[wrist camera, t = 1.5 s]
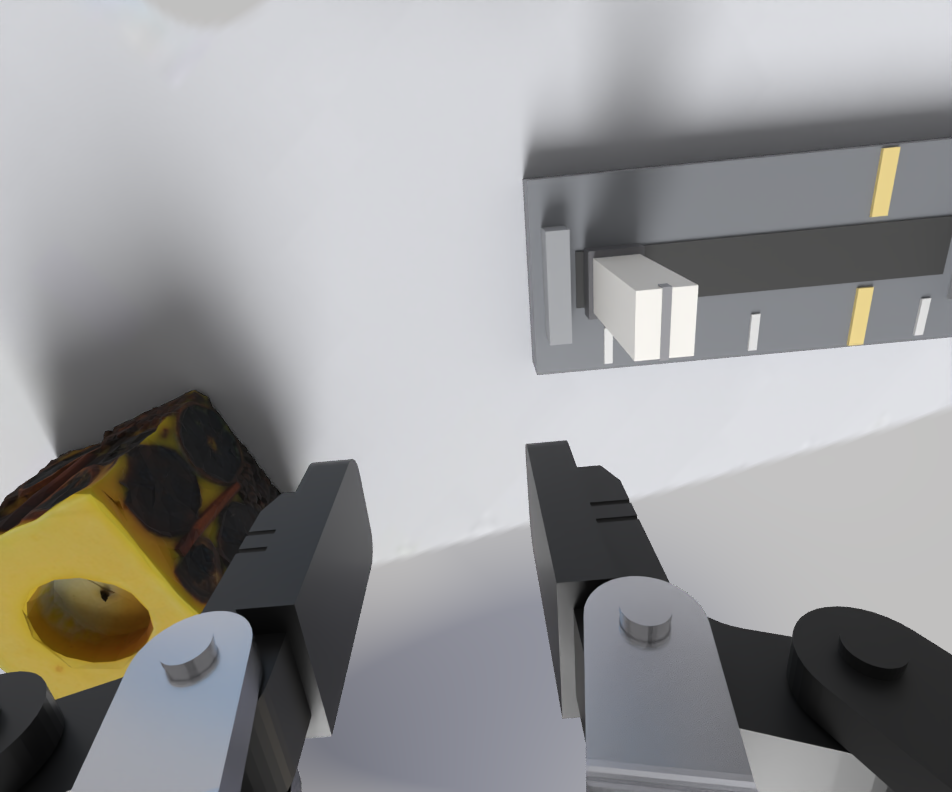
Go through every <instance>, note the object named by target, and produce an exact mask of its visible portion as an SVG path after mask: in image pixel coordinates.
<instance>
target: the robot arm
mask: <svg viewBox="0 0 952 792" xmlns="http://www.w3.org/2000/svg"><path fill="white" fill-rule="evenodd" d="M526 467H527V483H528V499H529V514H530V527H531V536H532V544H533V552H534V558H535V563H536V569H537V575H538V581H539V586H540V592H541V598H542V604H543V609H544V615H545V621H546V627H547V632H548V638H549V644H550V650H551V655H552V661H553V666H554V672H555V678H556V684H557V690H558V695H559V701H560V707H561V713H562V718H563V719H564V718H577V717H580V718H581V722H582V727H583V731H584V737H585V742H586V791H587V792H952V655H951V654H950V653H948V652H946V651H945V650H943V649H942V648H940V647H938V646H937V645H935V644H934V643H932V642H931V641H929V640H927V639H926V638H924V637H922V636H921V635H919V634H918V633H916V632H915V631H913V630H911V629H910V628H908V627H906V626H904V625H902V624H901V623H899V622H896V621H894V620H892V619H890V618H888V617H885V616H882V615H879V614H877V613H873V612H870V611H866V610H862V609H856V608H851V607H824V608H819V609H816V610H813V611H810V612H808V613H807V614H805V615H804V616H802V617H801V618H800V619H799V621H798V622H797V623H796V625H795V627H794V630H793V635H792V637H790V636H784V635H778V634H772V633H766V632H760V631H754V630H748V629H743V628H738V627H734V626H730V625H727V624H723V623H720V622H718V621H715V620H713V619H711V618H708V617H707V615H706V613H705V611H704V610H703V608H702V607H701V605H700V604H699V603H698V602H697V601H696V600H695V599H694V598H693V597H692V596H691V595H689V594H688V593H687V592H686V591H684V590H682V589H681V588H679V587H677V586H675V585H673V584H671V583H669V581H668V579H667V576H666V574H665V572H664V570H663V568H662V566H661V564H660V562H659V560H658V558H657V556H656V554H655V552H654V550H653V547H652V545H651V543H650V541H649V539H648V537H647V535H646V533H645V531H644V529H643V527H642V525H641V523H640V521H639V519H637V514H636V512H635V510H634V508H633V506H632V504H631V503H630V502H629V498H628V496H627V494H626V492H625V490H624V488H623V485H622V483H621V481H620V480H619V479H618V478H616V477H615V476H614V475H612V474H611V473H610V472H608V471H607V470H606V469H604V468H603V467H602V466H600V465H599V466H587V467H577V466H576V463H575V461H574V458H573V455H572V452H571V450H570V447H569V444H568V442H567V441H555V442H543V443H532V444H526ZM372 553H373V547H372V534H371V528H370V523H369V518H368V513H367V508H366V503H365V498H364V493H363V488H362V483H361V478H360V473H359V469H358V466H357V463H356V462H355V460H353V459H350V460H338V461H327V462H316V463H311V464H310V465H309V467H308V469H307V471H306V473H305V475H304V477H303V479H302V481H301V483H300V484H299V486H298V488H297V490H296V492H289V493H282V494H281V495H280V496H278V497H277V498H276V499H275V500H274V501H272V502H271V503H270V504H269V505H268V506H266V507H265V508H264V509H263V510H262V511H261V512H260V513H259V515H258V517H257V518H256V520H255V522H254V524H253V525H252V527H251V529H250V530H249V536H246V537H245V539H244V541H243V542H242V544H241V546H240V548H239V553H238V554H235V556H234V558H233V559H232V561H231V563H230V565H229V566H228V568H227V570H226V571H225V573H224V575H223V577H222V578H221V580H220V582H219V583H218V585H217V587H216V589H215V590H214V592H213V594H212V595H211V597H210V599H209V601H208V602H207V604H206V606H205V607H204V609H203V611H202V612H201V614H198V615H194V616H192V617H189V618H186V619H184V620H182V621H180V622H177V623H175V624H173V625H172V626H170V627H168V628H167V629H165V630H163V631H162V632H160V633H159V634H158V635H156V636H155V637H154V638H152V639H151V640H150V641H149V642H148V643H147V644H146V645H145V646H144V647H143V648H142V649H141V650H140V651H139V652H138V653H137V654H136V656H135V657H134V658H133V660H132V661H131V663H130V665H129V666H128V668H127V670H126V672H125V675H124V677H122V678H119V679H116V680H113V681H110V682H107V683H104V684H101V685H98V686H95V687H92V688H89V689H86V690H83V691H80V692H77V693H74V694H71V695H68V696H65V697H62V698H59V699H56V700H55V699H54V697H53V695H52V693H51V692H50V690H49V688H48V686H47V684H46V682H45V681H44V680H43V678H42V677H41V676H39V675H38V674H36V673H32V672H25V671H18V672H9V673H5V674H0V792H302V783H301V778H300V774H299V771H298V768H297V766H298V763H299V759H300V756H301V752H302V748H303V745H304V741H305V738H316V737H328V736H332V733H333V729H334V725H335V720H336V716H337V711H338V707H339V703H340V698H341V694H342V690H343V686H344V682H345V677H346V673H347V669H348V664H349V660H350V656H351V652H352V647H353V643H354V639H355V634H356V630H357V626H358V621H359V617H360V613H361V609H362V604H363V600H364V596H365V591H366V587H367V582H368V579H369V574H370V570H371V565H372Z"/></svg>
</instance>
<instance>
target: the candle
mask: <svg viewBox="0 0 952 792" xmlns="http://www.w3.org/2000/svg"><path fill="white" fill-rule="evenodd" d="M280 495H281V493H280V492H279V491H278V490H277V489H276V488H275V487H274V486H272V485H271V483H270V480H269V479H268V478H267V476H266V475H265V473H264V472H263V470H262V469H260V468H259V467H258V465H257V463H256V462H255V460H254V458H253V457H252V456H251V455H250V454H249V453H248V452H247V449H246V447H245V446H244V445H242V444H241V443H240V442H239V440H238V439H237V438H236V437H235V436H234V434H233V433H232V432H231V431H230V429H229V427H228V426H227V424H226V423H225V422H224V420H223V419H222V417H221V416H220V415H219V414H218V412H217V411H216V410H215V409H214V408H213V407H212V405H211V403H210V400H209V398H208V396H204V395H203V394H201V393H199V392H197V391H195V390H193V391H190V392H187V393H185V394H184V395H182V396H180V397H178V398H177V399H174V400H172V401H170V402H168V403H166V404H164V405H162V406H160V407H155V408H153V410H150V411H147V412H144V413H142V414H141V415H139V416H137V417H136V418H134V419H133V420H130V421H127V422H124V423H123V424H121V425H118V426H116V427H114V430H113V431H105V433H104V439H103V441H102V443H99V444H96V445H92V446H89V447H86V448H84V449H80V450H73V451H68V452H67V453H66V454H62V455H60V457H58V458H57V459H55V460H51V461H50V463H49V464H48V465H47V466H46V467H45V468H43V469H41V470H40V471H39V473H38V474H37V475H35V476H34V477H32V478H31V479H29V480H28V481H26V482H25V483H23V484H22V485H20V486H19V487H18V488H17V489H16V490H15V491H13V492H12V493H10V494H9V495H7V496H6V497H5V499H4V501H3V502H2V504H1V506H0V668H1V669H2V670H4V671H5V672H6V673H9V672H18V671H25V672H32V673H36V674H38V675H39V676H41V677H42V678H43V680H44V681H45V682H46V684H47V686H48V688H49V690H50V692H51V693H52V695H53V697H54V699H55V700H56V699H59V698H62V697H65V696H68V695H71V694H74V693H77V692H80V691H83V690H86V689H89V688H92V687H95V686H98V685H101V684H104V683H107V682H110V681H113V680H116V679H119V678H122V677H124V675H125V672H126V670H127V668H128V666H129V665H130V663H131V661H132V660H133V658H134V657H135V656H136V654H137V653H138V652H139V651H140V650H141V649H142V648H143V647H144V646H145V645H146V644H147V643H148V642H149V641H150V640H151V639H152V638H154V637H155V636H156V635H158V634H159V633H160V632H162V631H163V630H165V629H167V628H168V627H170V626H172V625H173V624H175V623H177V622H180V621H182V620H184V619H186V618H189V617H192V616H194V615H198V614H201V612H202V611H203V609H204V607H205V606H206V604H207V602H208V601H209V599H210V597H211V595H212V594H213V592H214V590H215V589H216V587H217V585H218V583H219V582H220V580H221V578H222V577H223V575H224V573H225V571H226V570H227V568H228V566H229V565H230V563H231V561H232V559H233V558H234V556H235V554H238V553H239V548H240V546H241V544H242V542H243V541H244V539H245V537H246V536H249V530H250V529H251V527H252V525H253V524H254V522H255V520H256V518H257V517H258V515H259V513H260V512H261V511H262V510H263V509H264V508H265V507H266V506H268V505H269V504H270V503H271V502H272V501H274V500H275V499H276V498H277V497H278V496H280Z"/></svg>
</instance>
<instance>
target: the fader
mask: <svg viewBox="0 0 952 792" xmlns="http://www.w3.org/2000/svg"><path fill="white" fill-rule="evenodd" d="M644 255H645V246H643V245H641V244H639V243H634V244H623V245H613V246H602V247H592V248H584V294H585V315H586V316H587V318H588V319H589V320H593V319H599V320H600V321H601V322H602V323H603V325H604V326H605V327H606V328H607V329H608V331H609V332H610V333H611V334H612V335H613V336H614V338H615V339H616V340H617V341H618V342H619V344H620V345H621V346H622V347H623V348H624V350H625V351H626V352H627V353H628V354H629V355H630V357H631V358H632V359H633V360H634V361H644V360H655V359H659V360H660V361H665V360H669V358H676V357H687V356H694V345H695V330H696V315H697V299H698V285H697V284H695V283H693V282H692V281H690V280H688V279H686V278H684V277H682V276H680V275H678V274H677V273H675V272H673V271H671V270H669V269H667V268H665V267H663V266H662V265H660V264H658V263H656V262H654V261H652V260H650V259H649V258H647V257H645V256H644Z"/></svg>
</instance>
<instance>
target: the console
mask: <svg viewBox="0 0 952 792" xmlns="http://www.w3.org/2000/svg"><path fill="white" fill-rule="evenodd" d="M523 192H524V211H525V229H526V247H527V266H528V284H529V302H530V321H531V339H532V357H533V364H534V367H535V370H536V373H537V375H543V374H554V373H565V372H576V371H587V370H598V369H609V368H619V367H630V366H641V365H652V364H663V363H674V362H685V361H696V360H707V359H718V358H729V357H740V356H751V355H762V354H773V353H783V352H794V351H805V350H816V349H827V348H838V347H849V346H860V345H871V344H882V343H893V342H904V341H915V340H926V339H936V338H947V337H952V137H948V138H938V139H927V140H917V141H907V142H897V143H887V144H877V145H867V146H856V147H846V148H836V149H826V150H816V151H806V152H795V153H785V154H775V155H765V156H755V157H745V158H735V159H724V160H714V161H704V162H694V163H684V164H674V165H663V166H653V167H643V168H633V169H623V170H613V171H603V172H592V173H582V174H572V175H562V176H552V177H542V178H531V179H523ZM634 243H639V244H641V245H643V246H645V255H644V256H645V257H647V258H649V259H650V260H652V261H654V262H656V263H658V264H660V265H662V266H663V267H665V268H667V269H669V270H671V271H673V272H675V273H677V274H678V275H680V276H682V277H684V278H686V279H688V280H690V281H692V282H693V283H695V284H697V285H698V299H697V315H696V330H695V345H694V356H687V357H676V358H669V360H665V361H660V360H659V359H655V360H644V361H634V360H633V359H632V358H631V357H630V355H629V354H628V353H627V352H626V351H625V350H624V348H623V347H622V346H621V345H620V344H619V342H618V341H617V340H616V339H615V338H614V336H613V335H612V334H611V333H610V332H609V331H608V329H607V328H606V327H605V326H604V325H603V323H602V322H601V321H600V320H599V319H593V320H589V319H588V318H587V316H586V315H585V294H584V248H592V247H602V246H613V245H623V244H634Z"/></svg>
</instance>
